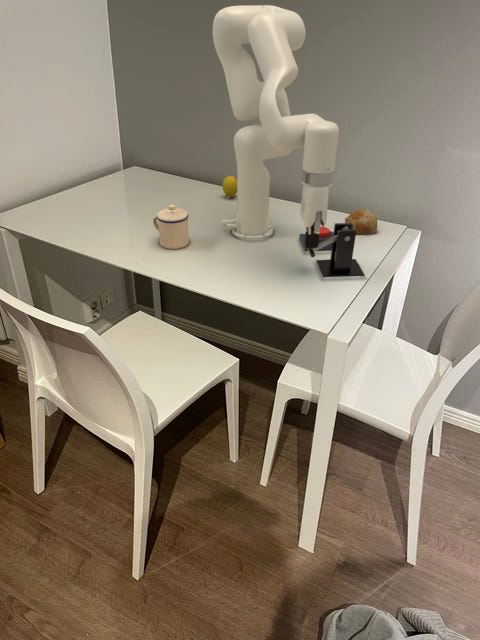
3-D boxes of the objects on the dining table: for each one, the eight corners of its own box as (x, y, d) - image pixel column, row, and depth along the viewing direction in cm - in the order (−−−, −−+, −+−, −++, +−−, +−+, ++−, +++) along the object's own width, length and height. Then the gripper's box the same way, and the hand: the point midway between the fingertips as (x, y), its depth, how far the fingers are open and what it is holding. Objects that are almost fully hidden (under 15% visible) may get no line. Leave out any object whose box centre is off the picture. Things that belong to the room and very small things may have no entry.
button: (315, 238, 142) (316, 233, 141) (312, 232, 145) (313, 226, 144) (330, 238, 142) (331, 232, 141) (327, 231, 145) (327, 226, 144)
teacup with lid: (196, 240, 148) (194, 203, 141) (177, 252, 142) (174, 214, 135) (164, 231, 153) (161, 195, 147) (145, 242, 147) (141, 205, 140)
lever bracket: (322, 280, 129) (328, 235, 122) (315, 263, 137) (320, 220, 129) (364, 278, 130) (371, 234, 123) (354, 262, 137) (361, 219, 130)
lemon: (222, 194, 180) (222, 173, 175) (237, 194, 180) (237, 172, 175) (223, 200, 175) (222, 178, 170) (238, 200, 175) (238, 177, 171)
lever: (312, 260, 128) (309, 252, 126) (308, 250, 132) (305, 243, 131) (354, 239, 125) (350, 231, 124) (348, 230, 130) (345, 222, 128)
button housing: (304, 254, 141) (305, 241, 139) (299, 240, 149) (300, 228, 147) (342, 253, 142) (344, 240, 140) (335, 239, 150) (336, 227, 147)
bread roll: (369, 247, 153) (384, 226, 148) (340, 231, 152) (355, 210, 147) (368, 234, 161) (383, 214, 156) (341, 219, 160) (355, 198, 155)
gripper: (296, 167, 124) (292, 235, 134) (308, 188, 112) (302, 260, 122) (326, 166, 124) (319, 234, 135) (340, 187, 112) (332, 259, 122)
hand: (311, 246), depth 128 cm, fingers closed
